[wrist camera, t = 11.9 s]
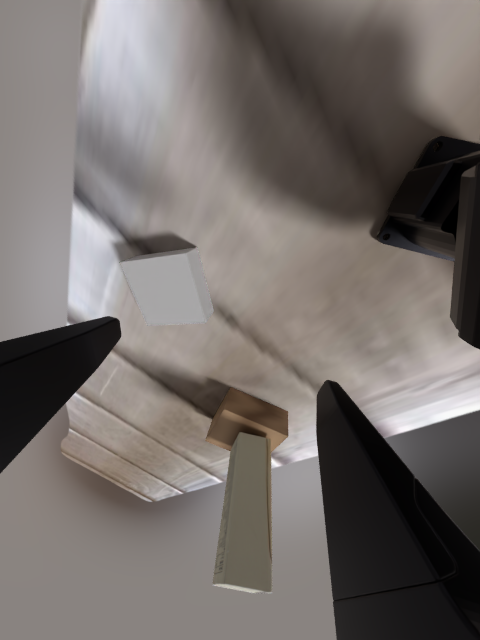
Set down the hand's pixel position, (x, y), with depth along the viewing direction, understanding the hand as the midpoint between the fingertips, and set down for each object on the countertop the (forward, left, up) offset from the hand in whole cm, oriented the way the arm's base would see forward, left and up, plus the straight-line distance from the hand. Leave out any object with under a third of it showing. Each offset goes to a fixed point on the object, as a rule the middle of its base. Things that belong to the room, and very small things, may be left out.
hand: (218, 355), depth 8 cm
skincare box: (-5, +23, -9) cm, 25 cm away
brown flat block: (-4, +23, -13) cm, 27 cm away
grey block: (+8, +4, -13) cm, 16 cm away
